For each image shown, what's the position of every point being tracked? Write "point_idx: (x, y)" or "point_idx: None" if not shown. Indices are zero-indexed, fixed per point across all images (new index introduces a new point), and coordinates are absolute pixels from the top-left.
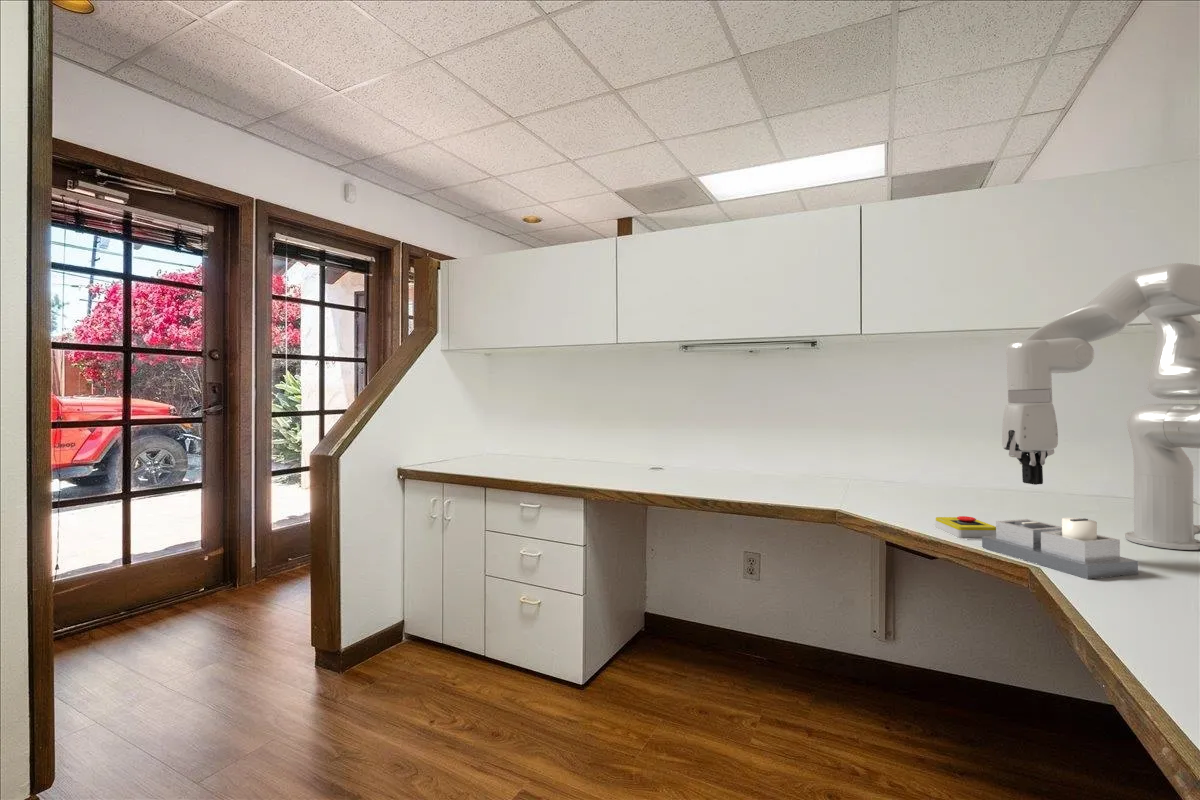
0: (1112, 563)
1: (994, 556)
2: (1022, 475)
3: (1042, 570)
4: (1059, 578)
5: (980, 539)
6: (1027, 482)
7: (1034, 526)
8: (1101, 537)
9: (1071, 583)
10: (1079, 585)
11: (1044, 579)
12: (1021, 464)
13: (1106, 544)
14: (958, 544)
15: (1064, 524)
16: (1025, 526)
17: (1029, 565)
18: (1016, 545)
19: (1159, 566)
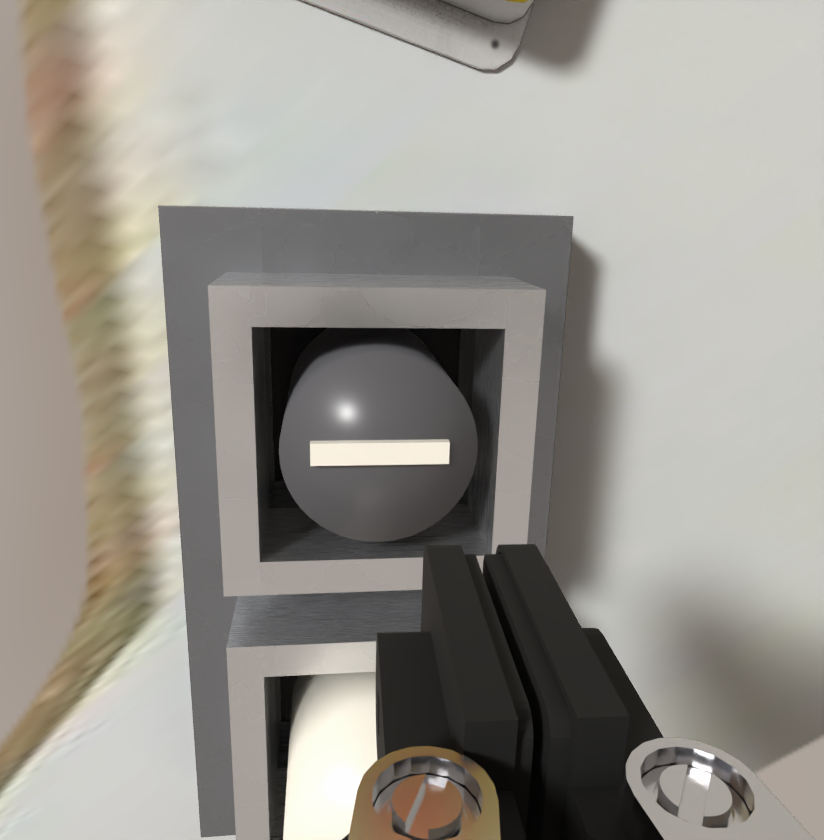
0: None
1: (87, 390)
2: (433, 594)
3: (126, 650)
4: (91, 755)
5: (351, 16)
6: (422, 611)
7: (327, 526)
8: None
9: (79, 813)
10: (89, 836)
11: (3, 755)
12: (388, 774)
13: None
14: (79, 71)
15: (290, 798)
16: (289, 485)
17: (137, 573)
18: (189, 467)
19: (733, 698)
